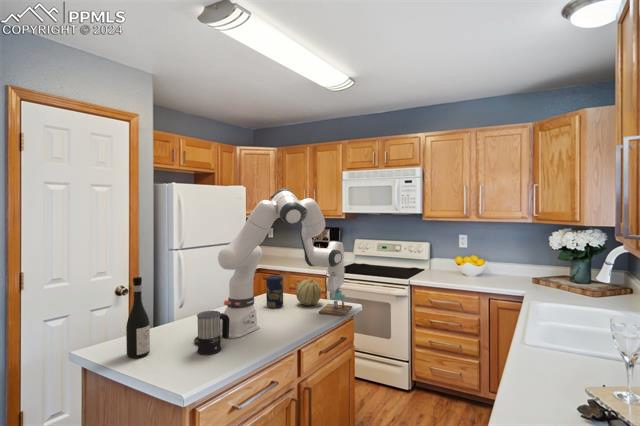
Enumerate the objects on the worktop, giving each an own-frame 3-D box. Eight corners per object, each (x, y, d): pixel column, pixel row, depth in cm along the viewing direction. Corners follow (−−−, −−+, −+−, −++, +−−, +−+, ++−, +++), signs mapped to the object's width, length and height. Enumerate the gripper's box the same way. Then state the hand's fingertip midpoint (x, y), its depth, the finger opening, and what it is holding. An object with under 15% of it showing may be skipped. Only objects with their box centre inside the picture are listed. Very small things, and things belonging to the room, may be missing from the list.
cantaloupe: (303, 300, 223) (303, 275, 222) (325, 303, 216) (325, 277, 216) (291, 306, 209) (291, 280, 209) (314, 309, 203) (314, 282, 203)
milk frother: (211, 357, 141) (210, 318, 141) (178, 351, 147) (177, 313, 146) (232, 343, 154) (232, 308, 154) (202, 338, 160) (201, 304, 160)
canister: (280, 309, 204) (280, 276, 204) (263, 308, 206) (263, 276, 206) (285, 304, 214) (285, 273, 213) (269, 303, 215) (269, 272, 215)
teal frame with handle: (329, 299, 199) (329, 292, 199) (332, 297, 204) (332, 290, 204) (343, 300, 197) (343, 293, 197) (345, 298, 202) (345, 291, 202)
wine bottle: (154, 351, 146) (153, 275, 145) (141, 359, 138) (140, 280, 138) (135, 350, 148) (134, 275, 147) (122, 358, 140) (120, 279, 139)
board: (344, 316, 192) (344, 306, 191) (318, 313, 196) (318, 304, 196) (351, 307, 207) (351, 299, 206) (327, 305, 211) (327, 297, 211)
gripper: (335, 274, 190) (335, 301, 190) (346, 267, 209) (346, 292, 210) (324, 273, 192) (324, 300, 192) (335, 267, 211) (335, 291, 212)
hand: (335, 295), depth 201 cm, fingers closed on teal frame with handle, 5 cm apart
